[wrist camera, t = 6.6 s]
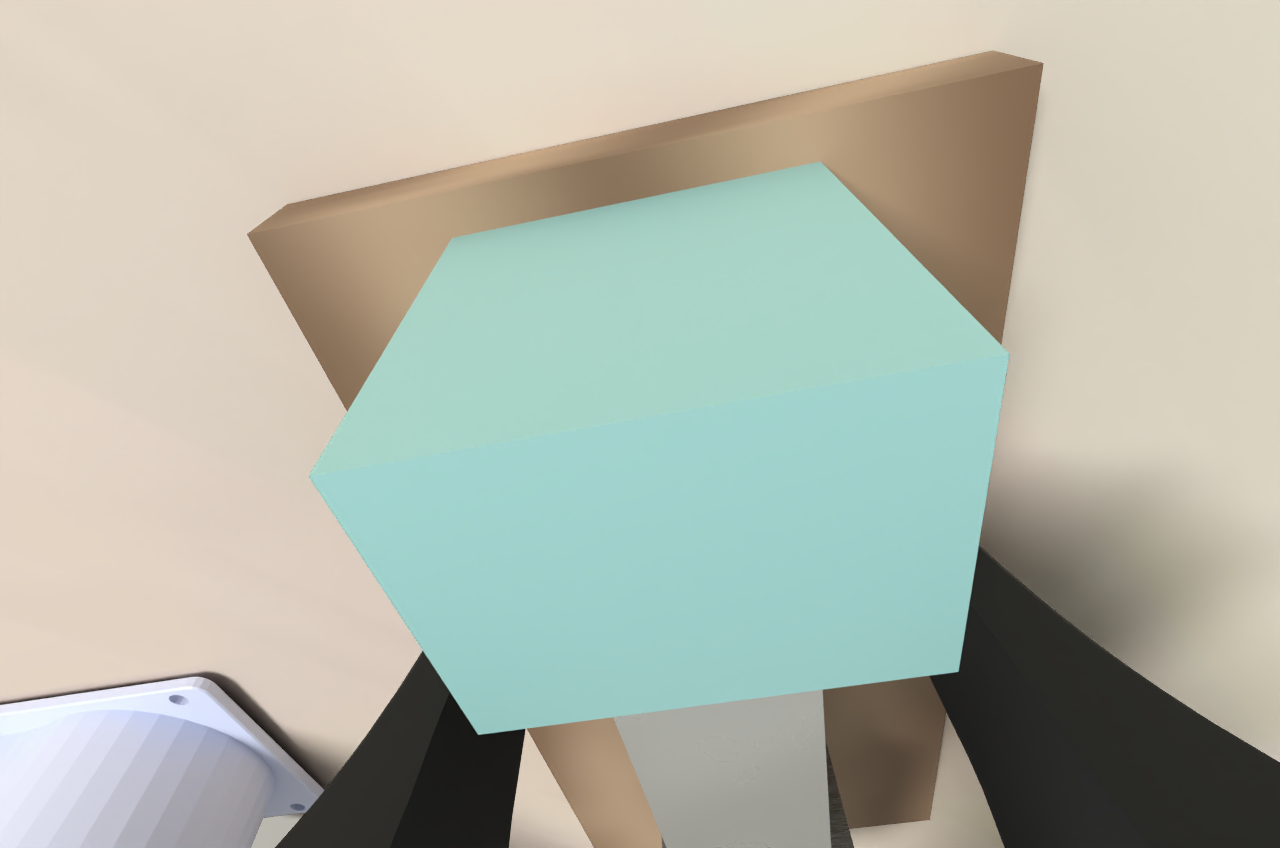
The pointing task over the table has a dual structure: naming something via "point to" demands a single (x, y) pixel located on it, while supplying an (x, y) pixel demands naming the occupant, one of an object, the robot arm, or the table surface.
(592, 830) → the walnut board
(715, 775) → the grey rectangular bar
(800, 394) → the teal socket block
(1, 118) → the table surface
